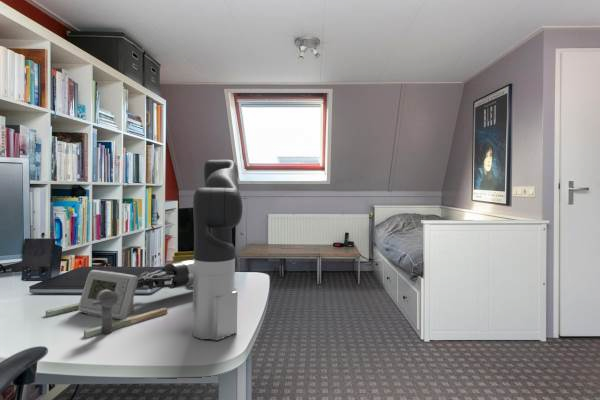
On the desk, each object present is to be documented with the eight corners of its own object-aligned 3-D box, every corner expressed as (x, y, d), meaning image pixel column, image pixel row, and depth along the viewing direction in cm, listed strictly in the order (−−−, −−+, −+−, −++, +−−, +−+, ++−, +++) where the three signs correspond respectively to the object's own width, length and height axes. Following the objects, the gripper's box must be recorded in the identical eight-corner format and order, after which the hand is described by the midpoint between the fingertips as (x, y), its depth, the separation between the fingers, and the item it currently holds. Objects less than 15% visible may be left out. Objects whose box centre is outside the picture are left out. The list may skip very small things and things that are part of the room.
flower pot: (172, 275, 136) (173, 251, 135) (197, 274, 138) (197, 251, 138) (172, 281, 127) (172, 256, 127) (198, 280, 130) (198, 255, 130)
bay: (172, 315, 95) (172, 278, 94) (91, 340, 78) (92, 296, 78) (122, 297, 109) (123, 265, 108) (45, 315, 92) (45, 277, 92)
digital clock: (74, 312, 95) (75, 271, 95) (108, 303, 103) (108, 266, 103) (110, 326, 87) (111, 281, 86) (144, 315, 94) (144, 274, 94)
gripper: (169, 258, 116) (115, 267, 102) (196, 264, 109) (142, 275, 95) (169, 282, 117) (115, 294, 102) (196, 289, 109) (142, 303, 95)
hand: (128, 285), depth 98 cm, fingers closed
